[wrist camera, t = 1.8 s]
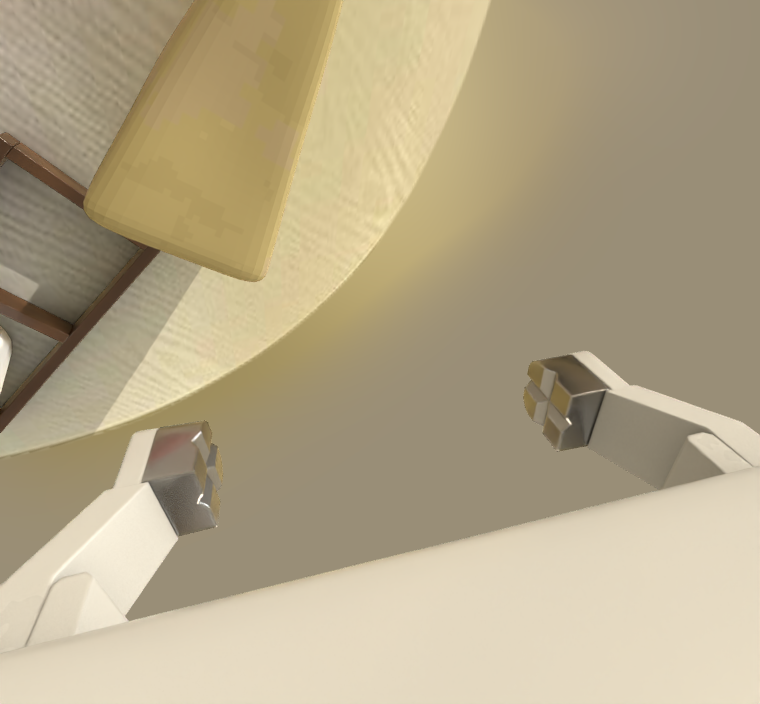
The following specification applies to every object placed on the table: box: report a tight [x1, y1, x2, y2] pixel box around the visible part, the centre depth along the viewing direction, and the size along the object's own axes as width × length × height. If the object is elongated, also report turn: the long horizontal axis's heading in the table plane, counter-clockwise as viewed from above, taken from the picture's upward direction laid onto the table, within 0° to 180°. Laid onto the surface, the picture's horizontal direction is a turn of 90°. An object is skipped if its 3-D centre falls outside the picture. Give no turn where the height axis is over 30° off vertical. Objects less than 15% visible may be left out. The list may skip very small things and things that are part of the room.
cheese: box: [83, 0, 343, 282], centre depth 25 cm, size 22×10×15 cm, turn 147°
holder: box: [0, 132, 161, 433], centre depth 32 cm, size 11×22×2 cm, turn 130°
